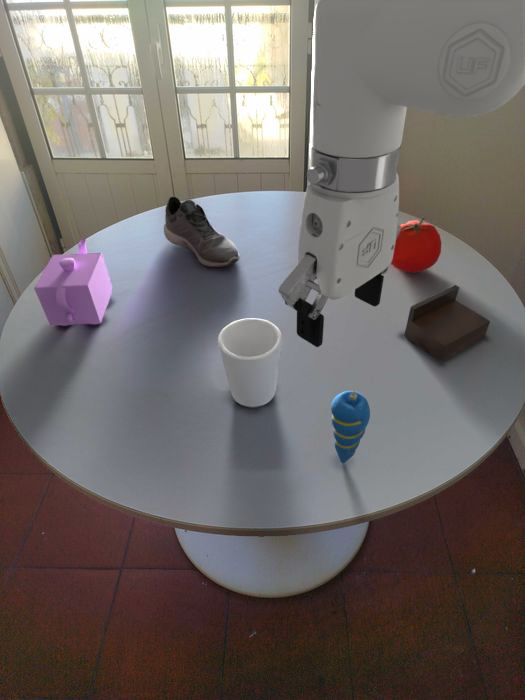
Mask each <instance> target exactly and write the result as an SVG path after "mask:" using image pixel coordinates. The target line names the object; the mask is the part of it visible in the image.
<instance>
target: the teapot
mask: <svg viewBox="0 0 525 700" xmlns="http://www.w3.org/2000/svg"><path fill="white" fill-rule="evenodd" d="M77 247H78V249H77V253H62V254H53V255H52V256H51V258H50V259H49V261H48V262H47V265H46V266H45V268H44V269H43V271H42V272H41V275H40V277H39V278H38V280H37V281H36V283H35V285H34V291H35V294H36V296H37V298H38V301H39V303H40V305H41V308H42V310H43V312H44V315H45V317H46V319H47V322H48V324H49V326H62V327H68V326H71V325H72V326H73V325H93V326H94V325H95V326H96V325H99V324H101V323H102V322H103V318H104V316H105V313H106V310H107V307H108V305H109V303H110V300H111V296H112V293H113V291H114V288H113V284H112V281H111V278H110V274H109V271H108V268H107V264H106V261H105V257H104V254H103V253H102V252H88V249H87V239H86V238H82V239H81V240H79V243H78V246H77Z"/></svg>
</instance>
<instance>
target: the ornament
mask: <svg viewBox="0 0 525 700" xmlns="http://www.w3.org/2000/svg"><path fill="white" fill-rule="evenodd" d="M330 410H331V425H332V427H333V434H332V435H333V436H334V439H335V440H334V447H335V448H334V449H335V451H336V454H337V456H338V459H339V461H340V463H342V464H345V463H346V462H347V461H349V460H350V459H351V458H352V457H353V456H354V455H355V454H356V450H357V449H358V447H359V445H360V442H361V440H362V438H363V437H364V435H365V433H366V428H367V427H368V424H369V422H370V418H371V409H370V405H369V402H368V400H367V398H366V397H365V396H364V395H363V394H362V393H361V392H358V391H356V390H346V391H343V392H340V393H339V394H337V395H336V396H335V397H334V398H333V400H332V402H331V404H330Z"/></svg>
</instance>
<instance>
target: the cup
mask: <svg viewBox="0 0 525 700" xmlns="http://www.w3.org/2000/svg"><path fill="white" fill-rule="evenodd" d="M282 342H283V335H282V332H281V330H280V329H279V328H278V327H277V326H276V325H275V324H274V323H273V322H271V321H269V320H267V319H262V318H255V317H254V318H252V317H250V318H242V319H238V320H234V321H232V322H231V323H229V324H227V325H226V326H225V327H223V328H222V330H221V331H220V332H219V334H218V337H217V343H218V347H219V348H218V349H219V352H220V356H221V359H222V363H223V368H224V370H225V374H226V375H225V376H226V378H227V382H228V387H229V390H230V393H231V396H232V399H233V401H234V402H235V403H236V404H237V403H238V404H240V405H241V406H244V407H246V408H250V409H251V410H255V409H257V408H259V407H261V406H264V405H266V404H268V403H271V402H272V401H273V400H274V398H275V395H276V393H277V386H278V385H277V384H278V378H279V377H278V376H279V369H280V360H281V351H282Z"/></svg>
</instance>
